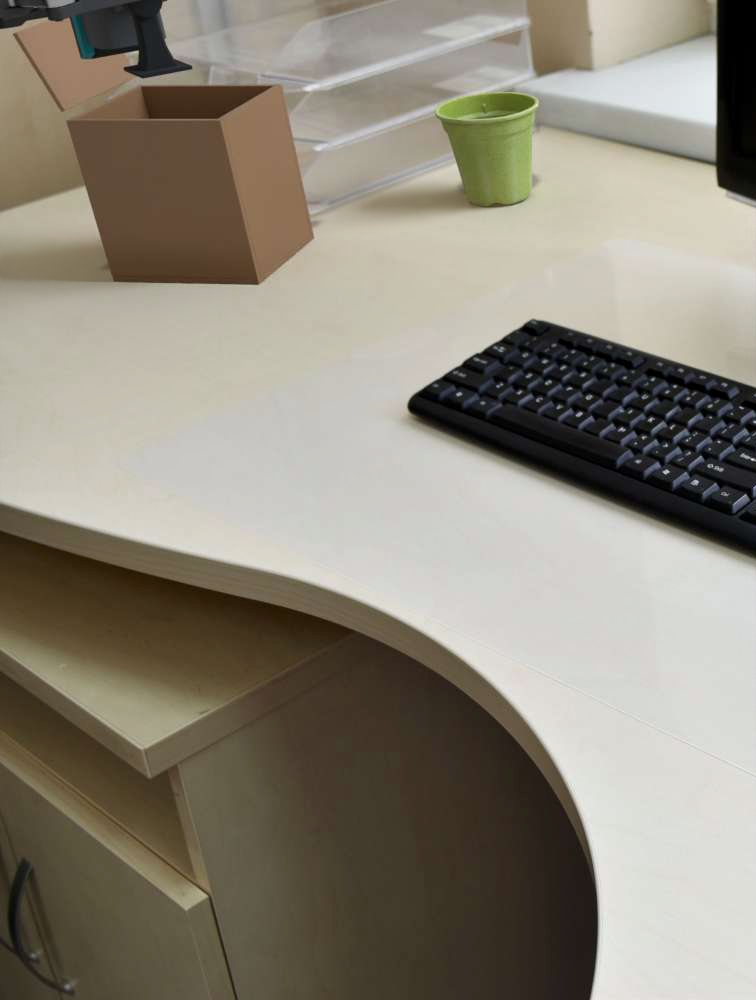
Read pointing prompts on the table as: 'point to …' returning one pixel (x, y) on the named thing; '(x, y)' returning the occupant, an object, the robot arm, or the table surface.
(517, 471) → the table surface
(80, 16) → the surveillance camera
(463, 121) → the plant pot
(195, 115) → the carton
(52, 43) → the flap
